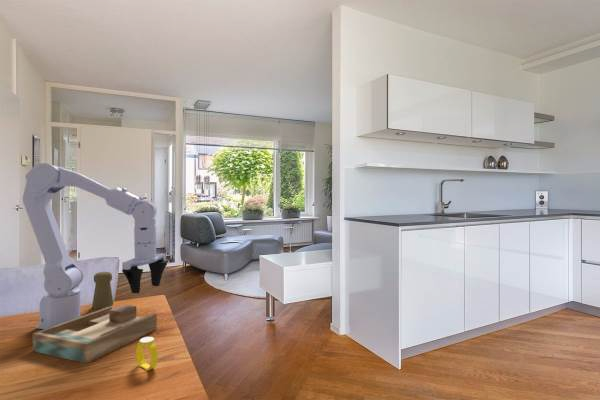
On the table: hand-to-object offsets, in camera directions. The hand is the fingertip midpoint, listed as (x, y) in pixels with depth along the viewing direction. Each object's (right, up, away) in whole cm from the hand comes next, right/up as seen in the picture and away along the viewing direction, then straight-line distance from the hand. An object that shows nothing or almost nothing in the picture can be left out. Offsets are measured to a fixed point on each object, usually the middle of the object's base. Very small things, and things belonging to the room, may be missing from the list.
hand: (146, 289), depth 96 cm
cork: (-19, -9, +11) cm, 24 cm away
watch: (+13, -9, -28) cm, 32 cm away
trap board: (-5, -9, -14) cm, 17 cm away
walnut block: (-3, -6, -7) cm, 10 cm away
